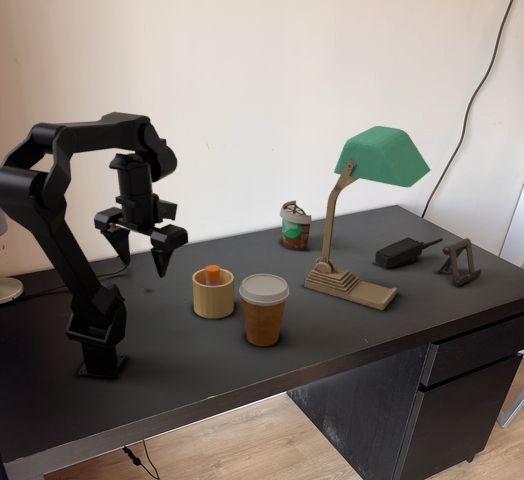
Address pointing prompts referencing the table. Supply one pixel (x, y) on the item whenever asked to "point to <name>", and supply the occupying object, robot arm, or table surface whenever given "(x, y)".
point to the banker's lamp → (374, 169)
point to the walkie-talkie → (402, 252)
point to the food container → (295, 226)
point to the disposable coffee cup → (263, 307)
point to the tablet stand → (454, 252)
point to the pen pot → (213, 295)
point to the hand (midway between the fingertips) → (144, 270)
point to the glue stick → (212, 275)
